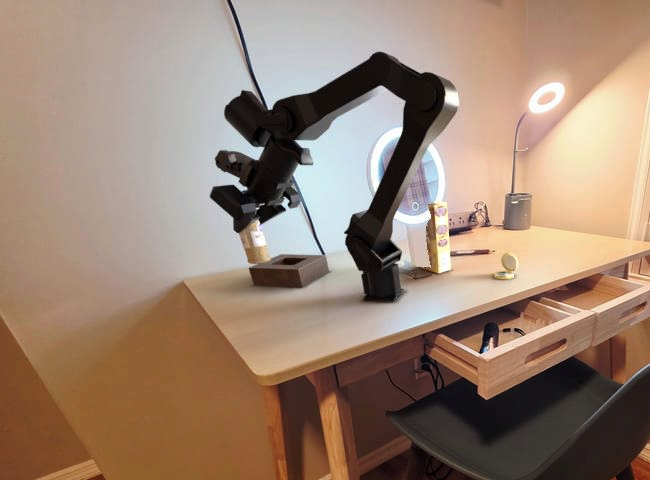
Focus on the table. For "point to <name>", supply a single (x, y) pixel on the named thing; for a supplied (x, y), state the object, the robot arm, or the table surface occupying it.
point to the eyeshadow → (507, 266)
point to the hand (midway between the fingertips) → (244, 229)
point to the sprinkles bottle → (254, 244)
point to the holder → (289, 270)
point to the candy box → (438, 238)
